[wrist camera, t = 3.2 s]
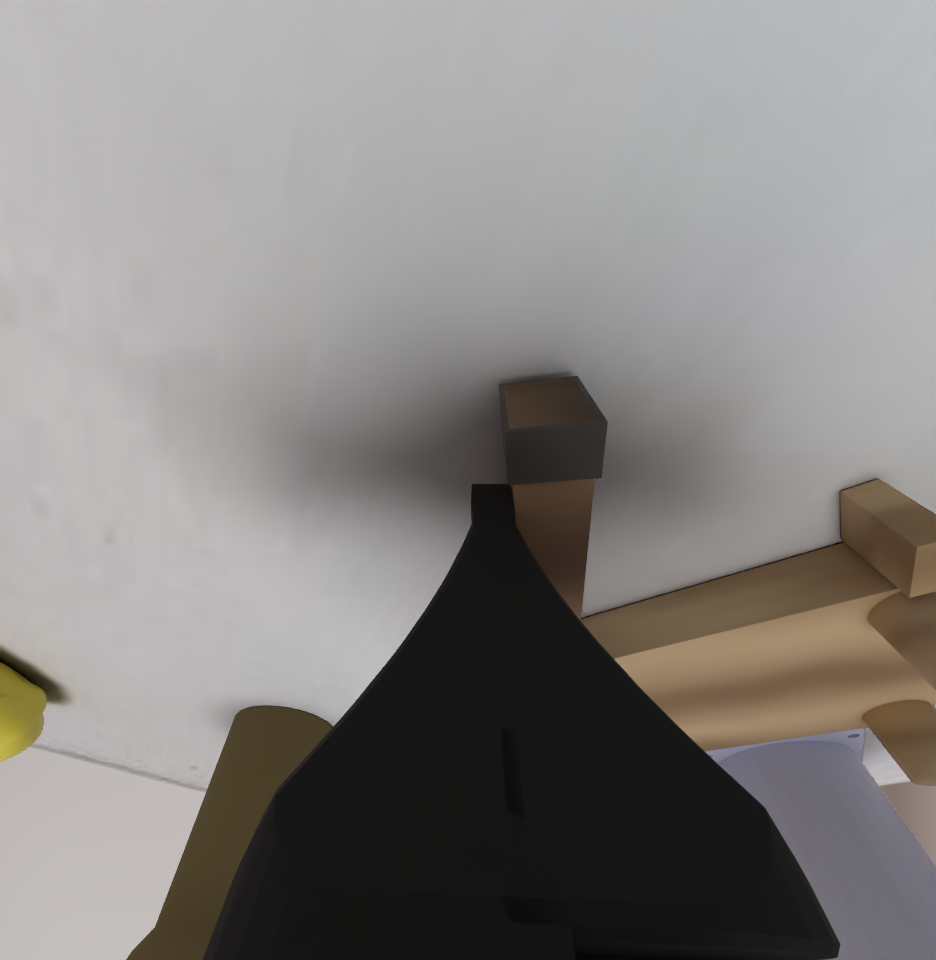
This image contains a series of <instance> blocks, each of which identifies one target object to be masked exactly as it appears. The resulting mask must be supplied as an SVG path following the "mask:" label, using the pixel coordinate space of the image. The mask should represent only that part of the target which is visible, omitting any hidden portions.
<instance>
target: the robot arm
mask: <svg viewBox="0 0 936 960" xmlns="http://www.w3.org/2000/svg"><path fill="white" fill-rule="evenodd" d="M471 519H472V524H471V527H470V529H469V531H468V534H467V536H466V539H465V541H464V543H463V545H462V547H461V549H460V551H459V553H458V555H457V557H456V559H455V561H454V563H453V564H452V566H451V568H450V570H449V572H448V574H447V576H446V577H445V579H444V581H443V583H442V584H441V586H440V588H439V589H438V591H437V593H436V594H435V596H434V597H433V599H432V600H431V602H430V604H429V605H428V607H427V608H426V610H425V611H424V613H423V614H422V616H421V617H420V618H419V620H418V621H417V623H416V624H415V626H414V627H413V628H412V630H411V631H410V633H409V634H408V636H407V637H406V638H405V640H404V641H403V643H402V644H401V645H400V647H399V648H398V649H397V651H396V652H395V653H394V655H393V656H392V657H391V658H390V660H389V661H388V662H387V663H386V665H385V666H384V667H383V668H382V670H381V671H380V672H379V673H378V674H377V676H376V677H375V678H374V679H373V681H372V682H371V683H370V684H369V686H368V687H367V688H366V689H365V690H364V692H363V693H362V694H361V695H360V697H359V698H358V699H357V700H356V702H355V703H354V704H353V705H352V706H351V707H350V709H349V710H348V711H347V712H346V713H345V714H344V716H343V717H342V718H341V719H340V720H339V721H338V722H337V723H336V725H335V726H334V727H333V728H332V729H331V730H330V731H329V732H328V733H327V734H326V736H325V737H324V738H323V739H322V740H321V741H320V742H319V743H318V744H317V745H316V747H315V748H314V749H313V750H312V751H311V752H310V753H309V754H308V755H307V756H306V758H305V759H304V760H303V761H302V762H301V763H300V764H299V765H298V766H297V767H296V769H295V770H294V771H293V772H292V773H291V774H290V775H289V776H288V777H287V778H286V779H285V781H284V782H283V783H282V784H281V785H280V786H279V788H278V789H277V790H276V792H275V794H274V795H273V797H272V799H271V801H270V803H269V805H268V807H267V808H266V810H265V812H264V814H263V816H262V818H261V820H260V822H259V824H258V826H257V828H256V830H255V832H254V834H253V836H252V839H251V841H250V843H249V845H248V847H247V849H246V852H245V854H244V856H243V858H242V860H241V862H240V864H239V866H238V868H237V871H236V873H235V876H234V878H233V880H232V883H231V886H230V888H229V891H228V894H227V896H226V899H225V902H224V904H223V907H222V910H221V912H220V915H219V918H218V920H217V923H216V926H215V928H214V931H213V933H212V936H211V939H210V941H209V944H208V947H207V949H206V952H205V955H204V957H203V960H936V865H935V864H934V862H933V861H932V860H931V858H930V857H929V855H928V854H927V853H926V851H925V850H924V848H923V847H922V846H921V844H920V843H919V841H918V840H917V839H916V837H915V836H914V834H913V833H912V832H911V830H910V829H909V828H908V826H907V825H906V823H905V822H904V821H903V819H902V818H901V816H900V815H899V814H898V812H897V811H896V809H895V808H894V806H893V805H892V804H891V802H890V801H889V799H888V798H887V797H886V795H885V794H884V793H883V791H882V790H881V788H880V787H879V785H878V784H877V783H876V781H875V780H874V778H873V777H872V776H871V774H870V773H869V771H868V770H867V769H866V767H865V766H864V765H863V749H864V733H865V729H864V728H861V729H854V730H847V731H841V732H834V733H827V734H820V735H813V736H807V737H800V738H793V739H786V740H779V741H773V742H766V743H759V744H752V745H746V746H739V747H732V748H725V749H718V750H712V751H704V750H703V749H702V748H701V747H700V746H699V745H698V744H697V743H695V742H694V741H693V740H692V739H691V738H690V737H689V736H688V735H687V734H686V733H685V732H684V731H683V730H682V729H681V728H680V727H679V726H678V725H677V724H676V723H675V722H674V721H673V720H672V719H671V718H670V717H669V716H668V715H667V714H666V713H665V712H664V711H663V710H662V709H661V708H660V707H659V706H658V705H657V704H656V703H655V702H654V701H653V700H652V699H651V698H650V697H649V696H648V695H647V694H646V693H645V692H644V691H643V690H642V689H641V688H640V687H639V686H638V685H637V684H636V682H635V681H634V680H633V679H632V678H631V677H630V676H629V675H628V674H627V673H626V672H625V670H624V669H623V668H622V667H621V666H620V665H619V664H618V663H617V662H616V661H615V660H614V658H613V657H612V656H611V655H610V654H609V653H608V652H607V651H606V650H605V649H604V648H603V646H602V645H601V644H600V643H599V642H598V641H597V640H596V639H595V637H594V636H593V635H592V634H591V633H590V631H589V630H588V629H587V628H586V627H585V625H584V624H583V623H582V622H581V621H580V619H579V618H578V617H577V616H576V615H575V613H574V612H573V611H572V609H571V608H570V607H569V605H568V604H567V603H566V602H565V600H564V599H563V598H562V596H561V595H560V594H559V592H558V591H557V590H556V588H555V587H554V585H553V584H552V583H551V581H550V580H549V578H548V577H547V575H546V574H545V572H544V571H543V569H542V568H541V566H540V565H539V563H538V562H537V560H536V559H535V557H534V556H533V554H532V552H531V551H530V549H529V547H528V546H527V544H526V542H525V540H524V539H523V537H522V535H521V533H520V532H519V530H518V528H517V526H516V524H515V522H514V499H513V493H512V489H511V485H510V486H508V484H472V493H471Z"/></svg>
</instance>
